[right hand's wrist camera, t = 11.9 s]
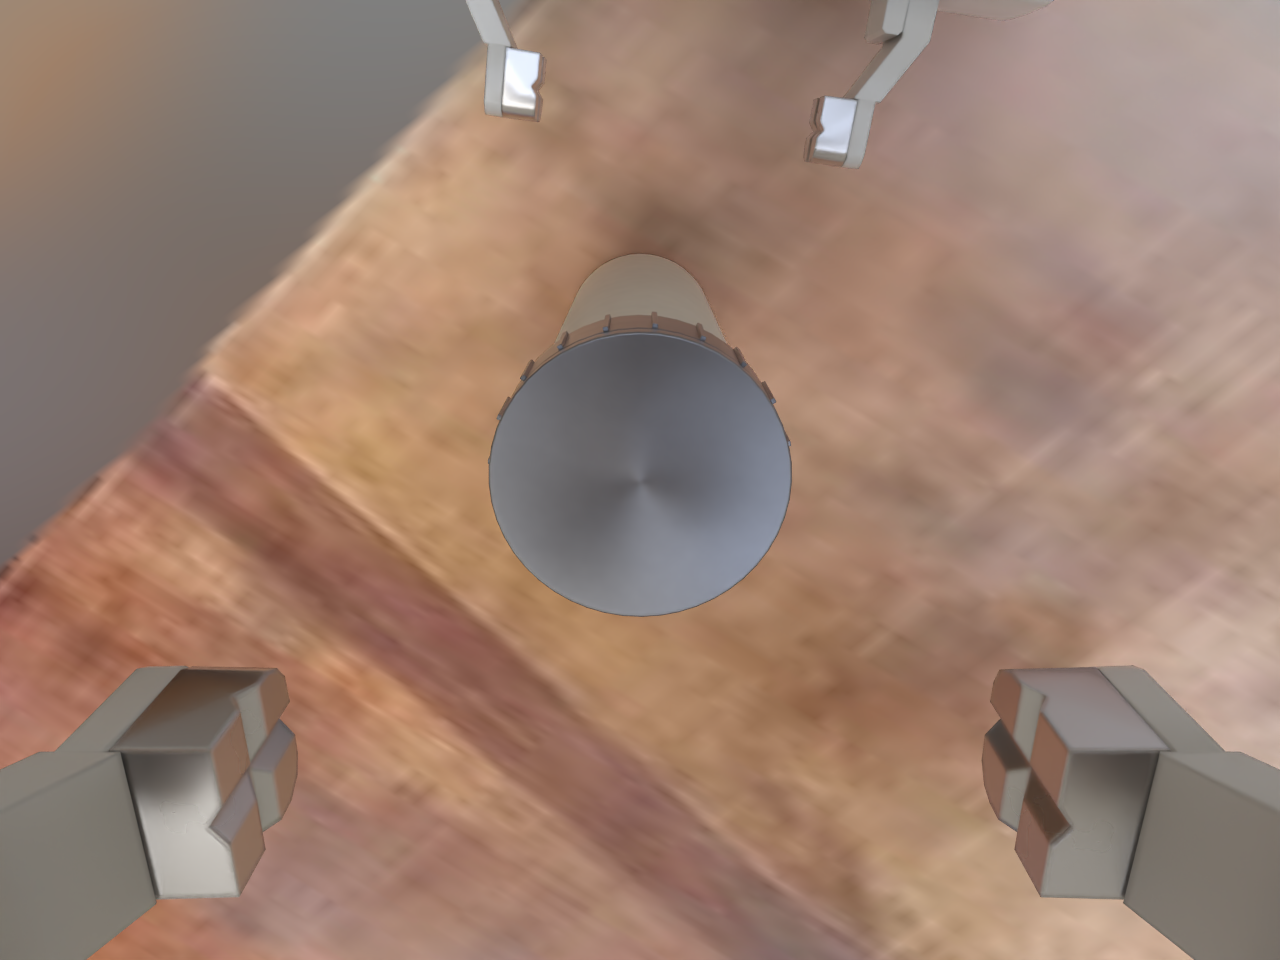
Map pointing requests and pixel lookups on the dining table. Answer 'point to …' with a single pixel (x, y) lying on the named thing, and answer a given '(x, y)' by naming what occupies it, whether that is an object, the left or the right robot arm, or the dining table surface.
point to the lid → (640, 466)
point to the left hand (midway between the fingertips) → (672, 142)
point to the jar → (640, 294)
